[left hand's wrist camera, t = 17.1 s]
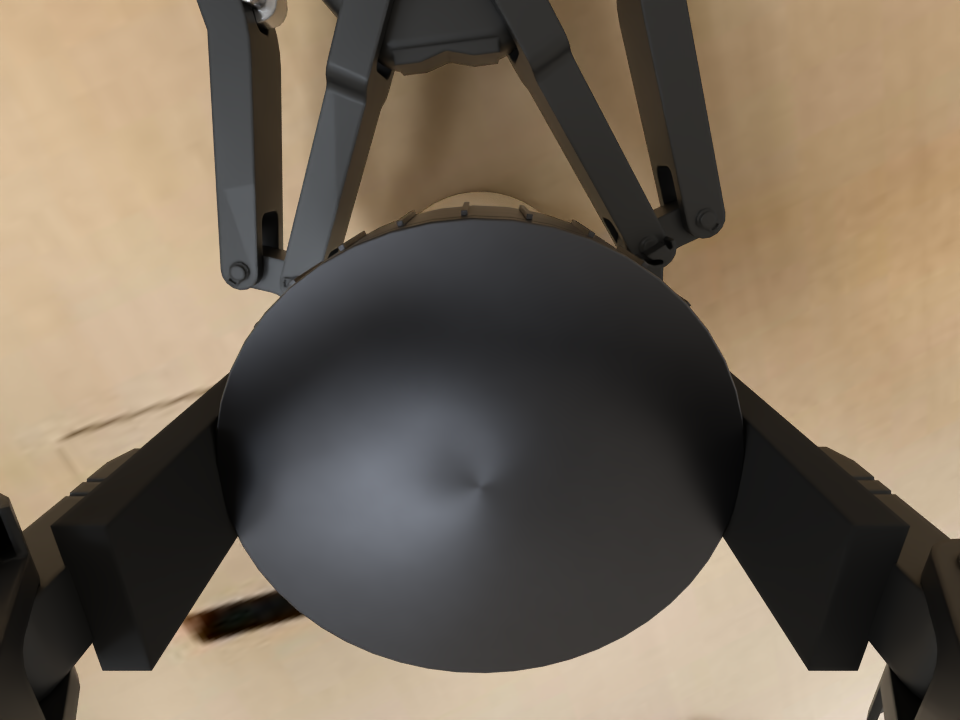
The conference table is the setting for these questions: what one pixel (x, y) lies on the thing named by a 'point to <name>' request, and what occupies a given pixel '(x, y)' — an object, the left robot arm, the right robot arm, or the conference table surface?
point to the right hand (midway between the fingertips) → (492, 438)
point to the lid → (480, 441)
